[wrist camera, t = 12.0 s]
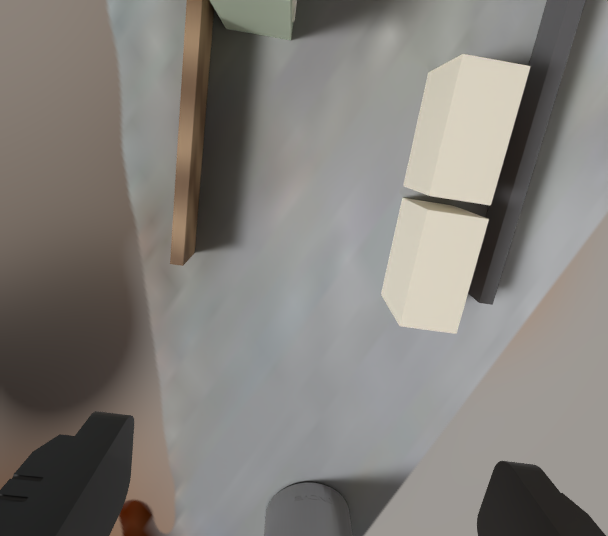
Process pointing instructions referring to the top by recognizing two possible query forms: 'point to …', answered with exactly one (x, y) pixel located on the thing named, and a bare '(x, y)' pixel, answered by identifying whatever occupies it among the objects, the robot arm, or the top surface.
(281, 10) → the sage tea tin
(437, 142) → the box
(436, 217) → the faced twin box
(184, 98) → the shelf back lip
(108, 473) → the robot arm
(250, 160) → the top surface
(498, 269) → the rail
